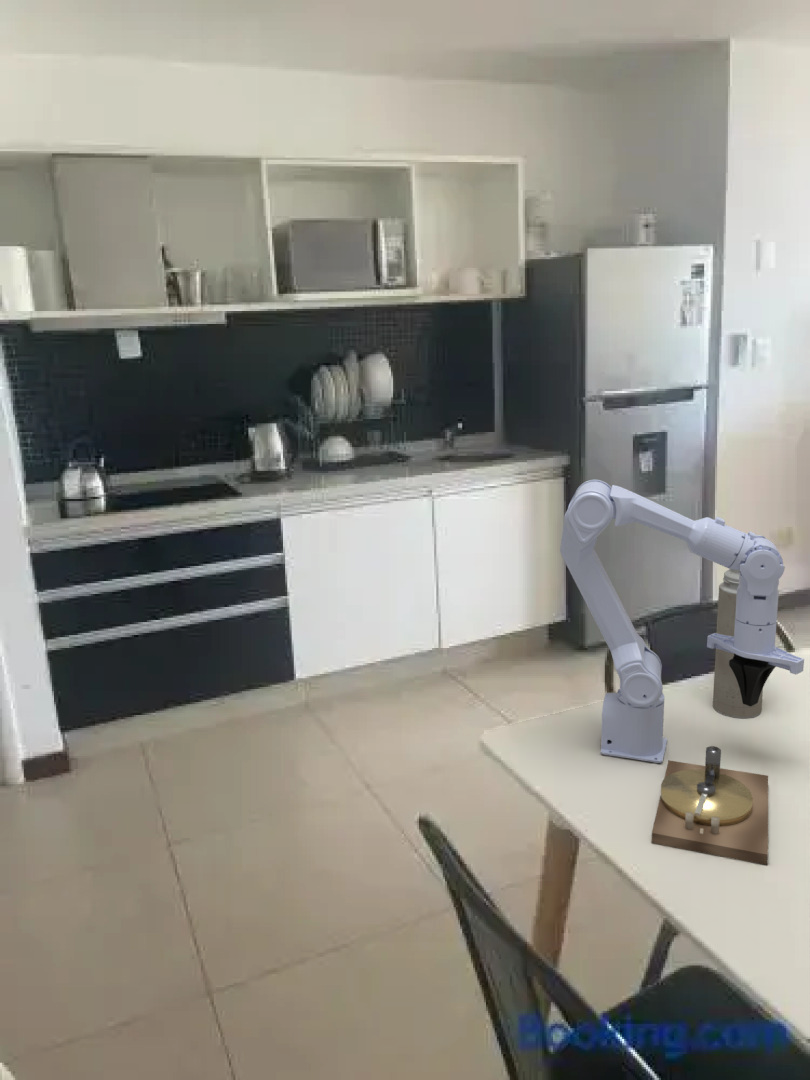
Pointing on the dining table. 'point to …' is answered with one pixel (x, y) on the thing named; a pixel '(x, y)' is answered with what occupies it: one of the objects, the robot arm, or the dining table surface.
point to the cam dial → (707, 793)
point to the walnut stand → (713, 839)
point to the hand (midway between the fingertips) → (750, 703)
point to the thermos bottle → (729, 656)
